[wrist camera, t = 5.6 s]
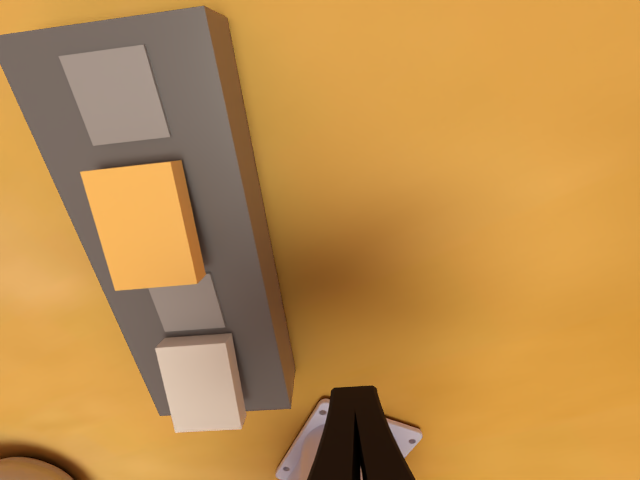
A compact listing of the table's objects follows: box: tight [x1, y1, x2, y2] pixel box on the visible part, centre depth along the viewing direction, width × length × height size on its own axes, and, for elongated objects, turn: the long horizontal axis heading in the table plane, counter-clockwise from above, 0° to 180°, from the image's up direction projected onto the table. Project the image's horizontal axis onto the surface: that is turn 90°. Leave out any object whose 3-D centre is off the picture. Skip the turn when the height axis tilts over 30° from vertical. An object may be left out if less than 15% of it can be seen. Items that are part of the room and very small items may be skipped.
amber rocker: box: [80, 160, 206, 291], centre depth 15 cm, size 5×4×1 cm
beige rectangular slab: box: [155, 333, 246, 433], centre depth 18 cm, size 5×4×1 cm
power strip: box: [0, 6, 295, 416], centre depth 18 cm, size 20×8×3 cm, turn 6°
